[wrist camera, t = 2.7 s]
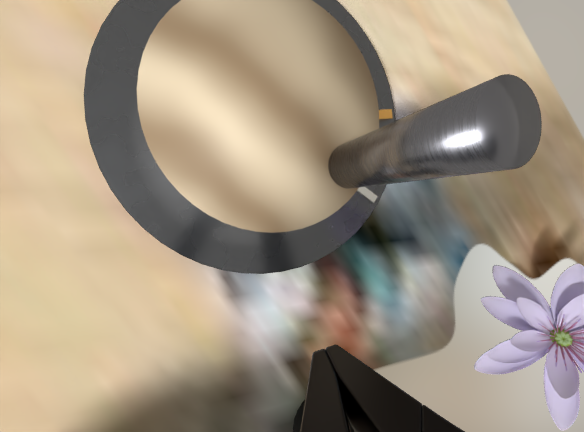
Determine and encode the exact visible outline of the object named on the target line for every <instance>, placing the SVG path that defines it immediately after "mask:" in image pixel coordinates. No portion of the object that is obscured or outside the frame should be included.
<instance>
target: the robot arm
mask: <svg viewBox="0 0 584 432" xmlns="http://www.w3.org/2000/svg"><path fill="white" fill-rule="evenodd" d="M347 417H348V418H347ZM348 419H349V421H350V423H351V425H352V427H353V429H354V431H355V432H465V431H463V430H461V429H460V428H458V427H456V426H455V425H453V424H452V423H450V422H449V421H447V420H446V419H444V418H443V417H441V416H440V415H438V414H437V413H435V412H434V411H432V410H431V409H429V408H428V407H426V406H425V405H423V406H422V404H421V403H420V402H419V401H417V400H416V399H414V398H413V397H411V396H410V395H409V394H407V393H406V392H404V391H403V390H401V389H400V388H398V387H397V386H396V385H394V384H393V383H391V382H390V381H388V380H387V379H385V378H384V377H383V376H381V375H380V374H378V373H377V372H375V371H374V370H373V369H371V368H370V367H368V366H367V365H365V364H364V363H363V362H361V361H360V360H358V359H357V358H355V357H354V356H352V355H351V354H350V353H348V352H347V351H345V350H344V349H342V348H341V347H339V346H338V345H333V346H330V347H327V348H326V350H325V349H321V350H318V351H315V352H314V353H313V355H312V362H311V368H310V374H309V380H308V386H307V392H306V399H305V405H304V411H303V417H302V423H301V429H300V432H351V430H350V426H349V422H348Z"/></svg>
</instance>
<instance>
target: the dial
mask: <svg viewBox="0 0 584 432" xmlns="http://www.w3.org/2000/svg"><path fill="white" fill-rule="evenodd" d="M137 104H138V112H139V117H140V122H141V127H142V130H143V133H144V136H145V139H146V142H147V145H148V147H149V149H150V151H151V153H152V155H153V157H154V159H155V161H156V163H157V164H158V166H159V167H160V169H161V170H162V172H163V173H164V175H165V176H166V178H167V179H168V180H169V181H170V182H171V184H172V185H173V186H174V187H175V188H176V189H177V190H178V192H179V193H180V194H182V195H183V196H184V197H185V198H186V199H187V200H188V201H190V202H191V203H192V204H193V205H194V206H196V207H197V208H199V209H200V210H202V211H203V212H205V213H206V214H208V215H209V216H211V217H213V218H215V219H217V220H219V221H221V222H223V223H226V224H229V225H232V226H235V227H237V228H241V229H245V230H250V231H255V232H268V233H275V232H288V231H293V230H298V229H302V228H305V227H308V226H311V225H314V224H316V223H318V222H320V221H322V220H324V219H326V218H328V217H329V216H330V215H332V214H333V213H335V212H336V211H338V210H339V209H340V208H341V207H342V206H343V205H344V204H345V203H347V202H348V201H349V200H350V198H351V197H352V196H353V195H354V194H355V192H356V191H357V190H358V188H359V187H368V186H376V185H384V184H393V183H401V182H409V181H418V180H426V179H434V178H443V177H451V176H459V175H468V174H476V173H484V172H493V171H501V170H509V169H516V168H519V167H521V166H523V165H525V164H526V163H527V162H528V161H529V160H530V159H531V158H532V156H533V155H534V153H535V151H536V149H537V147H538V144H539V141H540V136H541V113H540V108H539V104H538V102H537V99H536V97H535V95H534V93H533V91H532V90H531V88H530V87H529V86H528V85H527V84H526V82H524V81H523V80H522V79H520V78H519V77H517V76H514V75H509V74H508V75H500V76H498V77H496V78H493V79H491V80H489V81H486V82H484V83H482V84H480V85H477V86H475V87H473V88H470V89H468V90H466V91H464V92H461V93H459V94H457V95H454V96H452V97H450V98H448V99H445V100H443V101H441V102H438V103H436V104H434V105H431V106H429V107H427V108H425V109H422V110H420V111H418V112H415V113H413V114H411V115H409V116H406V117H404V118H402V119H399V120H397V121H395V122H393V123H390V124H388V125H386V126H383V127H381V128H379V108H378V100H377V94H376V90H375V86H374V82H373V79H372V76H371V73H370V70H369V68H368V66H367V63H366V61H365V59H364V57H363V55H362V53H361V52H360V50H359V48H358V47H357V45H356V43H355V42H354V40H353V39H352V38H351V36H350V35H349V34H348V32H347V31H346V30H345V29H344V28H343V26H342V25H341V24H340V23H339V22H338V21H337V20H336V19H335V18H334V17H333V16H332V15H331V14H329V13H328V12H327V11H326V10H325V9H324V8H322V7H321V6H320V5H318V4H317V3H315V2H314V1H312V0H181V1H179V2H178V3H177V4H176V5H175V6H173V7H172V8H171V9H170V10H169V11H168V12H167V13H166V14H165V16H164V17H163V18H162V19H161V20H160V21H159V23H158V24H157V26H156V27H155V29H154V31H153V32H152V34H151V35H150V37H149V40H148V42H147V44H146V47H145V49H144V51H143V54H142V58H141V62H140V66H139V70H138V81H137Z"/></svg>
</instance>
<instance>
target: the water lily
mask: <svg viewBox="0 0 584 432" xmlns="http://www.w3.org/2000/svg"><path fill="white" fill-rule="evenodd" d="M492 271H493V276H494V280H495V282H496V284H497V286H498V288H499V289H500V291H501V292H502V294H503V295H504V296H505V297H506V299H505V298H501V297H491V296H488V297H483V298H481V302H482V304H483V305H484V307H485V308H486V309H487V311H488V312H490V313H491V314H492V315H493V316H494V317H495V318H497V319H498V320H500V321H502V322H503V323H505V324H507V325H510V326H512V327H514V328H516V329H519V330H522V331H521V332H519V333H517V334H515V335H514V336H513V337H512V338H511V339H509V340H506V341H504V342H502V343H500V344H498V345H497V346H495V347H494V348H492V349H490V350H488V351H487V352H485V353H484V354H483V355H482V356H480V358H479V359H478V360H477V361H476V363H475V365H474V369H475V370H477V371H479V372H482V373H487V374H506V373H510V372H514V371H517V370H520V369H523V368H525V367H527V366H529V365H531V364H533V363H534V362H536V361H537V360H539V359H540V358H542V357H543V356H544V355H545V354H546V353H548V355H547V357H546V363H545V368H544V388H545V396H546V402H547V405H548V409H549V412H550V414H551V416H552V418H553V421H554V422H555V424H556V425H557V427H558V428H559V429H561V430H566V429H568V428H569V427H571V425H572V424H573V423H574V421H575V420H576V418H577V415H578V411H579V401H580V399H579V374H578V371H577V368H578V369H579V371H580V372H581V373H582V371H581V370H580V368H581V369H582V370H583V372H584V266H583V265H581V264H579V263H578V264H574V265H572V266H570V267H569V268H567V269H566V270H565V271H564V272H563V273H562V274H561V275H560V277H559V278H558V280H557V282H556V284H555V286H554V289H553V292H552V296H551V308H550V306H549V305H548V303H547V301H546V299H545V298H544V297H543V295H542V294H541V293H540V292H539V291H538V290H537V289H536V288H535V287H534V286H533V285H532V284H531V283H530V282H529V281H528V280H527V279H526V278H524V277H523V276H522V275H520V274H518V273H517V272H515V271H513V270H511V269H509V268H506V267H503V266H499V265H494V266H493V270H492ZM569 352H570V353H569ZM571 355H572V356H571ZM573 361H574V362H573ZM575 361H576V362H575ZM576 363H577V364H578V365H579V367H580V368H579V367H578V365H577V364H576ZM575 364H576V366H577V368H576V366H575Z"/></svg>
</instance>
